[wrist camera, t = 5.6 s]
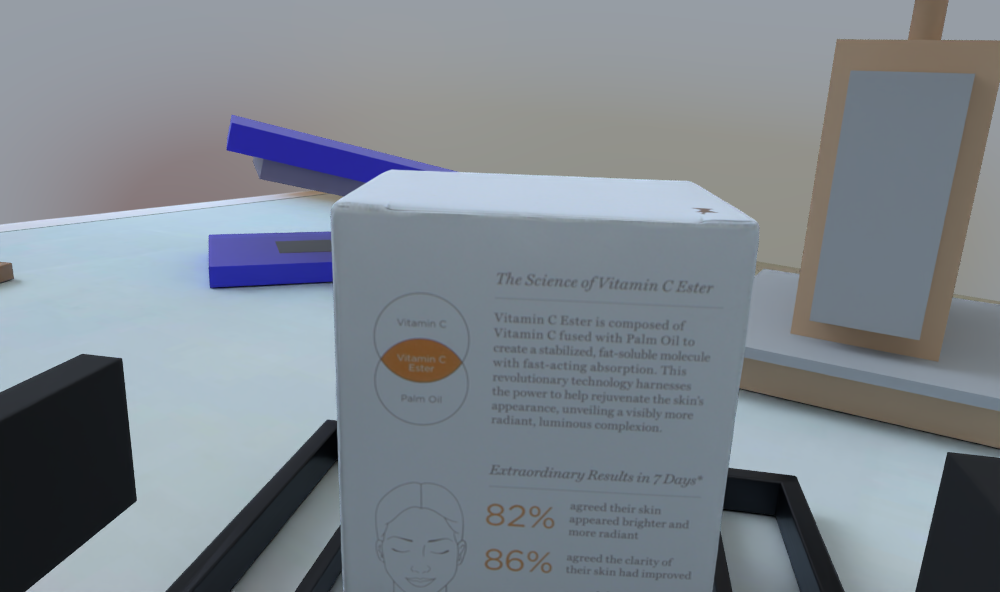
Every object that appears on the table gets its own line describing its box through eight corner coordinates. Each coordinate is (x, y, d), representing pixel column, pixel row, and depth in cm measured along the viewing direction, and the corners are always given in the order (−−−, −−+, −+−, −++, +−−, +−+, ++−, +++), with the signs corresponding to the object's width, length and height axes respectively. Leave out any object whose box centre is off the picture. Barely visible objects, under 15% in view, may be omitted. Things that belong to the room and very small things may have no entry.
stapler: (209, 250, 54) (200, 112, 52) (556, 239, 64) (563, 122, 61) (210, 291, 44) (199, 122, 41) (622, 270, 54) (635, 132, 51)
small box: (659, 543, 21) (701, 178, 19) (703, 697, 16) (773, 216, 13) (383, 528, 22) (383, 163, 19) (336, 675, 16) (325, 195, 13)
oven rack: (65, 754, 14) (57, 703, 14) (327, 449, 26) (326, 418, 26) (951, 937, 12) (967, 881, 11) (790, 508, 24) (797, 475, 23)
